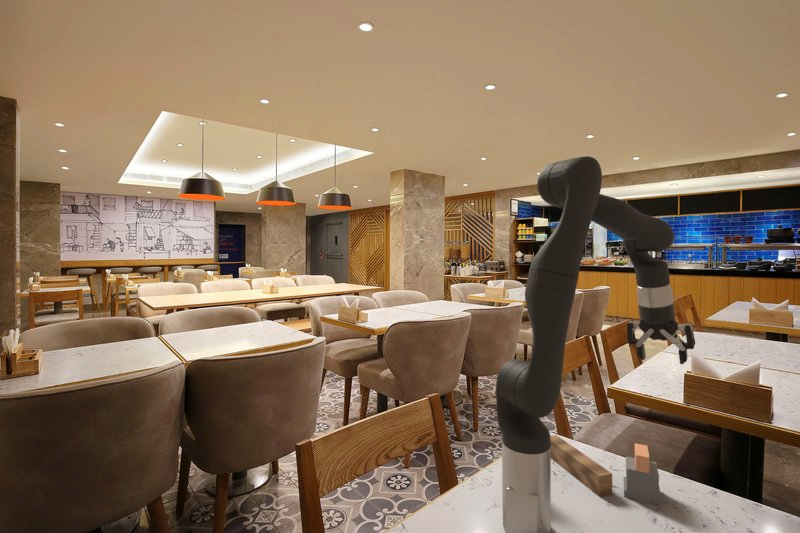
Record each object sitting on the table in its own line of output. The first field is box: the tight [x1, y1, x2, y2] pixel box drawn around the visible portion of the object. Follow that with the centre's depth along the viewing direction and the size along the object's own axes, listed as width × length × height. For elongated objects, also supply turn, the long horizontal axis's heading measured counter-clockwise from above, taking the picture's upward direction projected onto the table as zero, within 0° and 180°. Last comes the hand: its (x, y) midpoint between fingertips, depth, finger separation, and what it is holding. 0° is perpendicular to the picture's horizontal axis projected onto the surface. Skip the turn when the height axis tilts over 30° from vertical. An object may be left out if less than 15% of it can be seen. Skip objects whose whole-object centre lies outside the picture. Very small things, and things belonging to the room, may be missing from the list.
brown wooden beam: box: [550, 434, 613, 498], centre depth 99 cm, size 20×4×5 cm, turn 15°
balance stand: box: [623, 442, 663, 506], centre depth 90 cm, size 6×7×10 cm
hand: (662, 360), depth 102 cm, fingers open, 8 cm apart
